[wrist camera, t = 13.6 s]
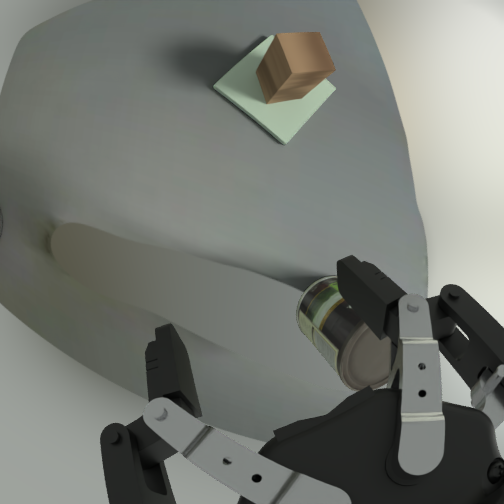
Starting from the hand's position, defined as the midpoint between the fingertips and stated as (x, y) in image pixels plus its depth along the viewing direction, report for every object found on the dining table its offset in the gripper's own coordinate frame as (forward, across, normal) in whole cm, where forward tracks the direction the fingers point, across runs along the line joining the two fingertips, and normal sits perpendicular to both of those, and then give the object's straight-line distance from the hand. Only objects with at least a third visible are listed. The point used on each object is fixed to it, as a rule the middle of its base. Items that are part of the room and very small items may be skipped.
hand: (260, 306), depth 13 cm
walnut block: (+27, -14, -8) cm, 31 cm away
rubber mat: (+28, -14, -8) cm, 32 cm away
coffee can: (+17, -12, +22) cm, 30 cm away
